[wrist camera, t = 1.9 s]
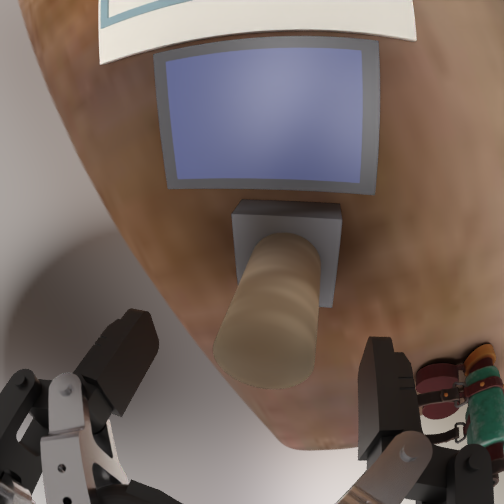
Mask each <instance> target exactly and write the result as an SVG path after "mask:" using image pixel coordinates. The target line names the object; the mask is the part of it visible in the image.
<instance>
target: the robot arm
mask: <svg viewBox="0 0 504 504" xmlns="http://www.w3.org/2000/svg"><path fill="white" fill-rule="evenodd" d="M158 349H159V339H158V336H157V333H156V330H155V327H154V324H153V321H152V318H151V315H150V313H149V312H147V311H142V310H137V309H129V310H128V311H127V312H126V313H125V314H124V316H123V317H122V318H121V319H117V320H116V321H115V322H113V323H112V324H110V325H109V326H108V327H107V328H106V329H105V330H104V332H103V333H102V334H101V337H100V338H98V340H97V341H96V342H95V345H93V346H92V348H91V349H90V350H89V352H88V353H87V354H86V356H85V357H84V358H83V360H82V361H81V363H80V364H79V365H78V367H77V368H76V370H75V371H74V372H73V373H63V374H60V375H59V376H57V377H56V378H54V380H42V379H38V378H37V377H36V376H35V374H34V373H33V372H32V371H31V370H29V369H22V370H19V371H17V372H16V373H15V374H14V375H13V376H12V377H11V379H10V380H9V382H8V383H7V384H6V386H5V387H4V389H3V390H2V392H1V393H0V504H36V503H35V501H34V500H32V497H31V495H32V493H33V491H34V489H35V486H36V484H37V482H38V480H39V478H40V475H41V473H42V472H43V481H44V488H45V495H46V502H47V504H182V503H180V502H179V501H177V500H175V499H173V498H172V497H170V496H168V495H167V494H165V493H164V492H162V491H160V490H158V489H155V488H152V487H149V486H147V485H144V484H142V483H138V482H136V481H134V480H131V482H130V483H129V481H128V478H127V476H126V474H125V472H124V470H123V468H122V467H121V465H120V463H119V460H118V456H117V452H116V448H115V443H114V438H113V434H112V429H111V424H110V420H109V417H110V415H111V413H112V414H115V415H117V416H120V417H122V416H123V414H124V412H125V410H126V408H127V406H128V405H129V403H130V401H131V399H132V397H133V396H134V394H135V392H136V390H137V388H138V387H139V385H140V383H141V381H142V379H143V378H144V376H145V374H146V372H147V370H148V369H149V367H150V365H151V363H152V361H153V360H154V358H155V356H156V354H157V352H158ZM358 403H359V440H358V460H367V470H366V471H365V473H364V474H363V475H362V476H361V477H360V478H359V479H358V480H357V482H356V483H355V484H354V485H353V486H352V487H351V488H350V489H349V490H348V491H347V492H346V493H345V494H344V495H343V496H342V497H341V498H340V499H339V500H338V501H337V502H336V503H335V504H400V503H401V502H402V501H403V499H404V498H406V499H411V500H416V504H494V495H493V494H494V493H493V475H492V464H491V457H490V454H489V452H488V450H487V449H486V448H485V447H484V446H482V445H480V444H469V445H466V446H465V447H463V448H462V449H461V450H454V449H449V448H444V447H440V446H436V445H434V444H433V443H431V442H430V440H429V439H428V438H427V437H426V436H425V435H424V434H423V431H422V427H421V420H420V413H419V406H418V400H417V394H416V390H415V382H414V379H413V372H412V367H411V363H410V362H409V360H408V359H407V357H406V356H405V354H404V353H403V352H394V349H393V344H392V339H391V338H390V337H369V338H368V341H367V344H366V347H365V350H364V354H363V357H362V360H361V363H360V366H359V372H358ZM28 413H29V414H30V415H31V416H33V420H32V422H31V423H30V425H29V427H28V429H27V430H26V432H25V434H24V436H23V438H22V439H21V441H20V442H18V441H17V439H16V434H17V431H18V429H19V428H20V426H21V424H22V423H23V421H24V419H25V418H26V416H27V414H28Z"/></svg>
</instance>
